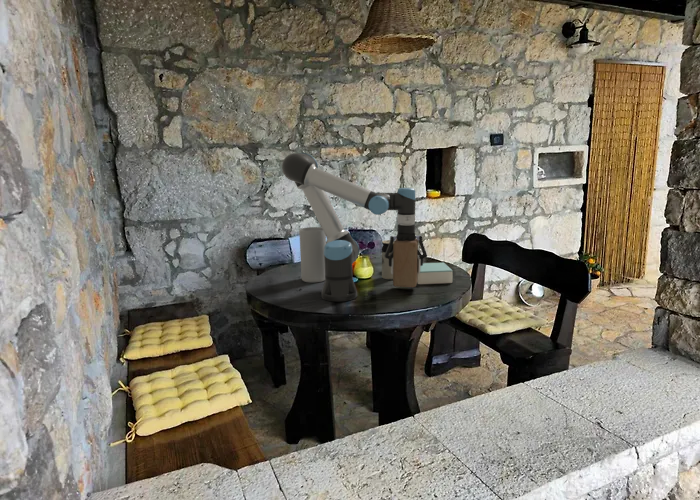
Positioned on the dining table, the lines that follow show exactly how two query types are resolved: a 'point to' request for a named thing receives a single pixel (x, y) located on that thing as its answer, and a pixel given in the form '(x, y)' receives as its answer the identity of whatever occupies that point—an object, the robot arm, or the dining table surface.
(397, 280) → the wooden block
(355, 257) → the robot arm
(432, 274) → the base brick
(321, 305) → the dining table surface
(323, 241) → the cylinder vase
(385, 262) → the travel mug
